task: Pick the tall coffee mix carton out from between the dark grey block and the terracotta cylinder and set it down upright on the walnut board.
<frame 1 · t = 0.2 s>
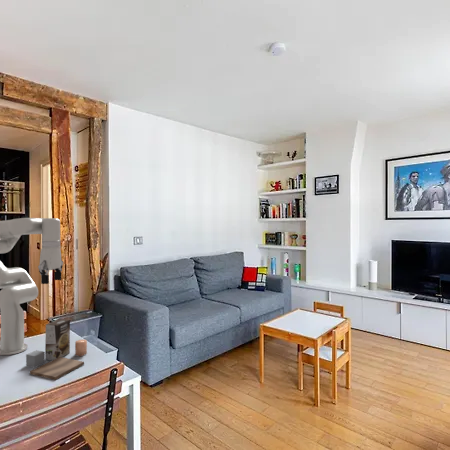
hand: (51, 281, 148), 35 cm above the table, tool pointing down, fingers open, 9 cm apart
grey block: (35, 364, 141), on the table
terracotta cylinder: (81, 353, 153), on the table
walnut board: (57, 369, 137), on the table
coffee box: (57, 356, 150), on the table
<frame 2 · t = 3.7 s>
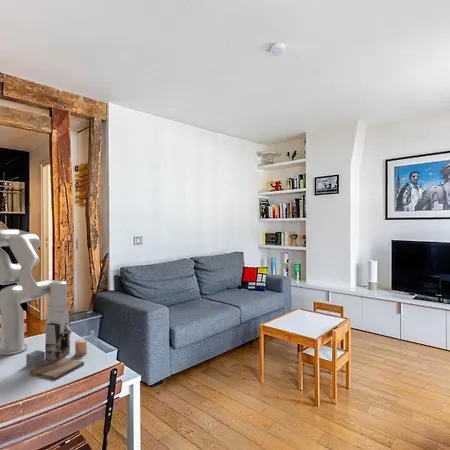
hand: (58, 345, 150), 5 cm above the table, tool pointing down, fingers closed on coffee box, 7 cm apart
coffee box: (57, 356, 150), on the table, touching gripper
everything else where it was.
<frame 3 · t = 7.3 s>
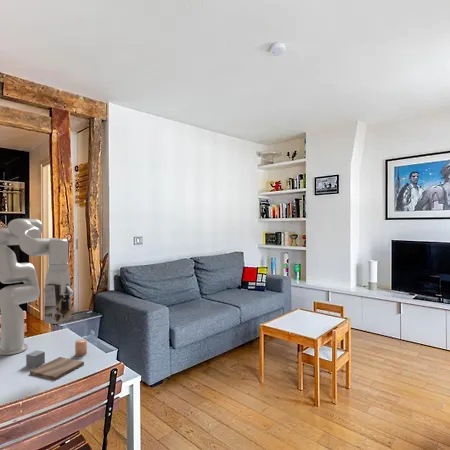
hand: (58, 308, 137), 26 cm above the table, tool pointing down, fingers closed on coffee box, 7 cm apart
coffee box: (58, 321, 137), point 21 cm above the table, touching gripper
everything else where it was.
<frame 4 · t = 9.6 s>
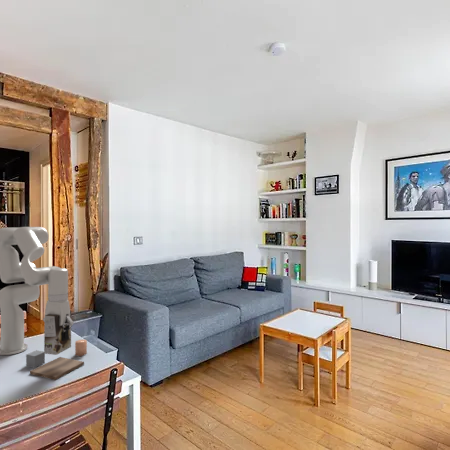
hand: (58, 338, 137), 13 cm above the table, tool pointing down, fingers closed on coffee box, 7 cm apart
coffee box: (58, 350, 137), point 8 cm above the table, touching gripper
everything else where it was.
when the fingers open (8 cm above the table, at t = 11.3 s): coffee box drops 1 cm, resting on walnut board.
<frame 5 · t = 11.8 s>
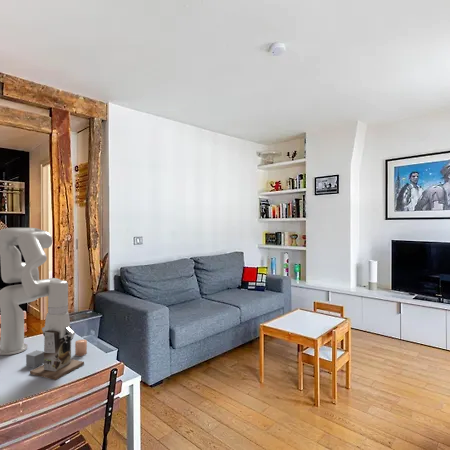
hand: (57, 349, 137), 8 cm above the table, tool pointing down, fingers open, 9 cm apart
coffee box: (57, 366, 137), point 1 cm above the table, touching walnut board
everything else where it was.
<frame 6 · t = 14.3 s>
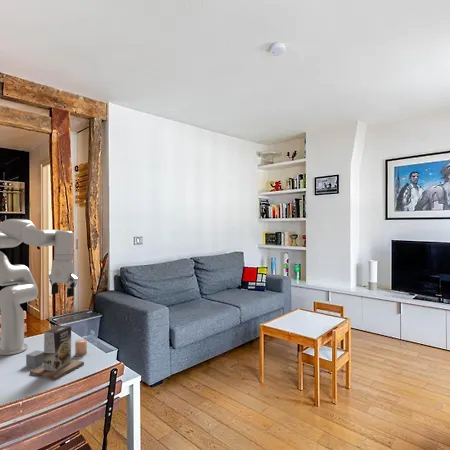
hand: (62, 295, 146), 30 cm above the table, tool pointing down, fingers open, 9 cm apart
nothing on the table moved.
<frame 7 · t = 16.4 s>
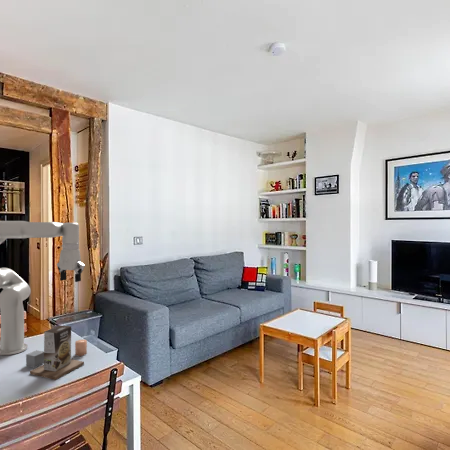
hand: (70, 280, 161), 33 cm above the table, tool pointing down, fingers open, 9 cm apart
nothing on the table moved.
at the end: coffee box inside the target area on the walnut board (0.0 cm from its centre), point 1.0 cm above the walnut board's base; coffee box tilted 0°; the gripper is holding nothing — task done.
